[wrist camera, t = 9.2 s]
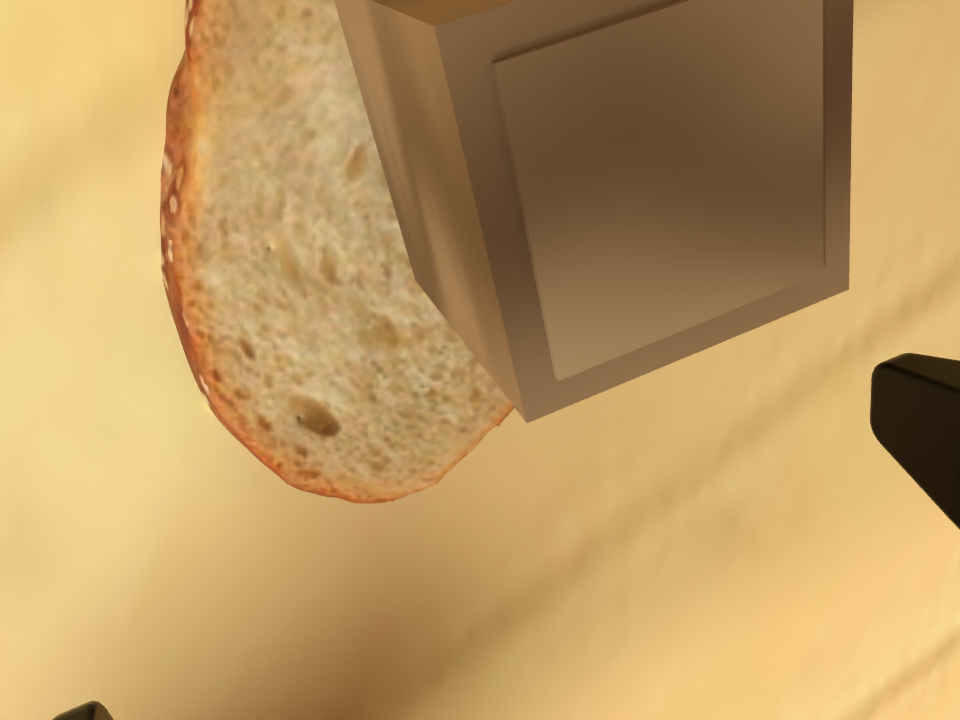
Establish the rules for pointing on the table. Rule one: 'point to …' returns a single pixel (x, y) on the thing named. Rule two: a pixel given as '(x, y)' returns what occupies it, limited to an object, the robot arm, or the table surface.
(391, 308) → the slice of bread
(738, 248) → the walnut cube
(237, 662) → the table surface
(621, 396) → the table surface
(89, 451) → the table surface
